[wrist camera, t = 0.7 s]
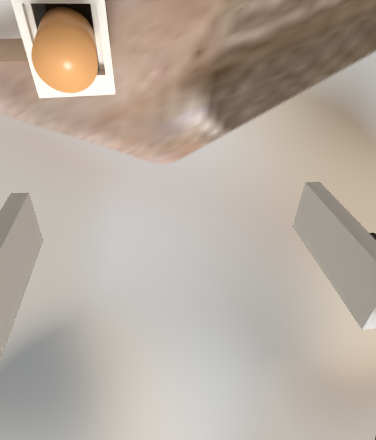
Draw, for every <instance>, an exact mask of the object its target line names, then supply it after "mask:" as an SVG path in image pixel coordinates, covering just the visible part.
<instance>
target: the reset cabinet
mask: <svg viewBox="0 0 376 440" xmlns="http://www.w3.org/2000/svg"><path fill="white" fill-rule="evenodd" d="M11 3H12V6H13V10H14V13H15V16H16V20H17V23H18V27H19V30H20V34H21V37H22V41H23V44H24V48H25V51H26V54H27V58H28V61H29V65H30V68H31V72H32V75H33V79H34V82H35V85H36V89H37V92H38V96H39V98H52V97H72V96H91V95H111V94H115V87H114V78H113V69H112V60H111V51H110V43H109V34H108V25H107V16H106V8H105V0H11ZM45 3H52V4H90V5H91V12H92V19H93V26H94V33H95V40H96V47H97V48H96V50H97V60H98V71H97V75H96V78H95V80H94V82H93V83H92V84H91V85H90V86H89V87H88V88H87V89H85V90H83V91H80V92H77V93H64V92H60V91H58V90H55V89H53V88H51V87H50V86H48V85H47V84H46V83H45V82H44V81H43V80H42V79H41V78H40V77H39V76H38V74H37V72H36V71H35V69H34V66H33V63H32V56H31V52H32V46H33V43H34V40H35V36H36V33H37V30H38V27H39V23H40V21H41V19H42V17H43V15H44V14H45V13H46V8H45Z"/></svg>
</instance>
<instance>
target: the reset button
mask: <svg viewBox="0 0 376 440" xmlns="http://www.w3.org/2000/svg"><path fill="white" fill-rule="evenodd" d="M31 56H32V63H33V66H34V69H35V71H36V72H37V74H38V76H39V77H40V78H41V79H42V80H43V81H44V82H45V83H46V84H47V85H48V86H50V87H51V88H53V89H55V90H58V91H60V92H64V93H77V92H80V91H83V90H85V89H87V88H88V87H89V86H90V85H91V84H92V83H93V82H94V80H95V78H96V75H97V71H98V60H97V50H96V41H95V34H94V31H93V29H92V26H91V25H90V23H89V22H88V20H87V19H86V18H85V17H84V16H83V15H82V14H80V13H79V12H77V11H76V10H74V9H71V8H67V7H56V8H53V9H51V10H49V11H47V12H46V13H45V14H44V15H43V17H42V19H41V21H40V23H39V27H38V30H37V33H36V36H35V40H34V43H33V46H32V52H31Z"/></svg>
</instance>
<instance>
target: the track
mask: <svg viewBox="0 0 376 440" xmlns="http://www.w3.org/2000/svg"><path fill="white" fill-rule="evenodd" d="M56 7H67V8H71V9H74V10H76V11H77V12H79V13H80V14H82V15H83V16H84V17H85V18H86V19H87V20H88V22H89V23H90V25H91V26H92V29H93V31H94V26H93V19H92V12H91V5H90V4H52V3H45V8H46V12H47V11H49V10H51V9H53V8H56ZM94 34H95V33H94ZM95 41H96V40H95ZM96 48H97V47H96ZM0 61H28V58H27V54H26V51H25V48H24V44H23V41H22V37H21V34H20V30H19V27H18V23H17V20H16V16H15V13H14V10H13V6H12V3H11V0H0Z"/></svg>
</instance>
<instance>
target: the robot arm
mask: <svg viewBox="0 0 376 440" xmlns="http://www.w3.org/2000/svg"><path fill="white" fill-rule="evenodd" d="M293 227H294V229H295V230H296V232H297V233H298V235H299V236H300V238H301V239H302V241H303V242H304V244H305V245H306V247H307V248H308V250H309V251H310V253H311V254H312V256H313V257H314V259H315V260H316V262H317V263H318V265H319V266H320V268H321V269H322V271H323V272H324V274H325V275H326V277H327V278H328V279H329V281H330V282H331V284H332V285H333V287H334V288H335V290H336V291H337V293H338V294H339V296H340V297H341V299H342V300H343V302H344V303H345V304H346V306H347V308H348V309H349V311H350V312H351V314H352V315H353V317H354V318H355V320H356V321H357V322H358V324H359V326H360V327H361V328H362V329H371V328H376V234H375V233H369V232H368V231H366V229H364V227H362V225H361V224H360V223H359V222H358V221H357V220H356V219H355V218H354V217H353V216H352V215H351V214H350V213H349V212H348V211H347V210H346V209H345V208H344V207H343V206H342V205H341V204H340V203H339V201H338V200H336V199H335V197H334V196H333V195H332V194H331V193H330V192H329V191H328V190H327V189H326V188H325V187H324V186H323V185H322V184H321V183H320V182H307V183H305V186H304V189H303V193H302V196H301V200H300V203H299V207H298V210H297V214H296V217H295V221H294V225H293ZM42 242H43V239H42V236H41V232H40V229H39V225H38V222H37V219H36V215H35V212H34V208H33V205H32V202H31V198H30V195H29V193H15V194H14V193H13V194H10V196H9V197H8V199H7V201H6V202H5V204H4V206H3V207H2V209H1V211H0V360H1V357H2V355H3V352H4V349H5V346H6V343H7V341H8V338H9V335H10V332H11V329H12V326H13V324H14V321H15V318H16V315H17V312H18V310H19V307H20V304H21V301H22V298H23V295H24V292H25V290H26V287H27V284H28V282H29V279H30V276H31V273H32V270H33V268H34V265H35V262H36V259H37V256H38V253H39V251H40V248H41V245H42ZM375 440H376V438H375Z"/></svg>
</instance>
